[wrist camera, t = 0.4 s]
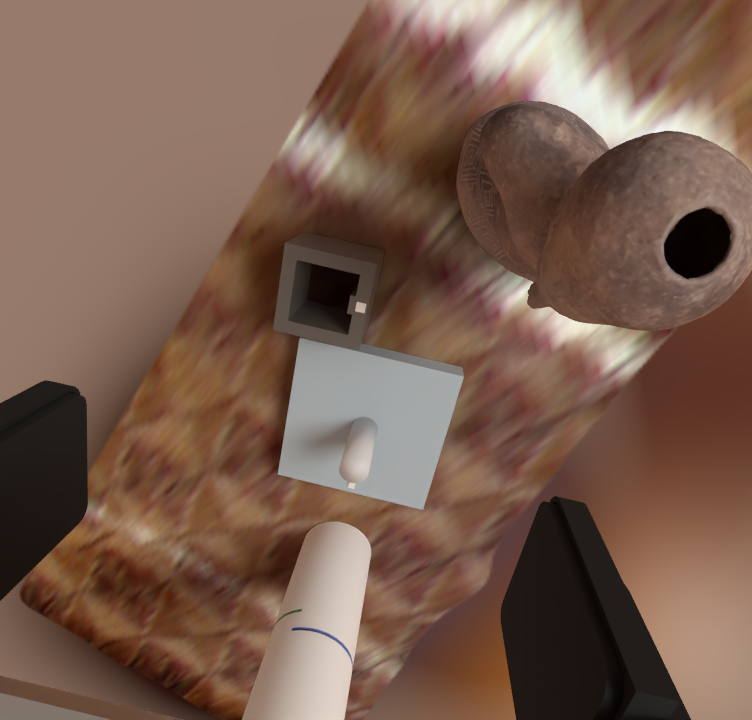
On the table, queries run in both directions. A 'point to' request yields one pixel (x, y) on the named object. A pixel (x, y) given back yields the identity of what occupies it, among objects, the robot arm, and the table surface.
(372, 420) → the shaft base
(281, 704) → the cylindrical container
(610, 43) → the table surface
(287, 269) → the square tunnel housing
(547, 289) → the clay figurine
